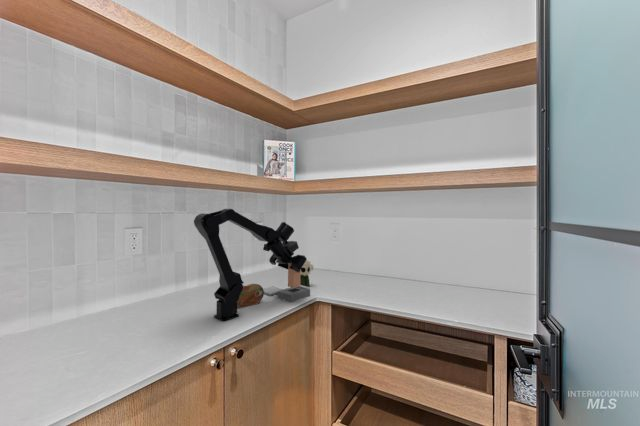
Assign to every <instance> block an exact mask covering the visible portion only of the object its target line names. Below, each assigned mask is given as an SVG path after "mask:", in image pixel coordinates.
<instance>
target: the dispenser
mask: <svg viewBox="0 0 640 426" xmlns="http://www.w3.org/2000/svg"><path fill="white" fill-rule="evenodd" d="M282 289H283V290H280V291H277V294H276V295H277V296H276V297H277V299H280V300H284V301H287V302H290V303H293V302H295V301H299V300H301V299H304V298H307V297H310V296H311V289H310V286H308V287H307V286H302V285H300V286H298V287H295V288H292V287H287V288H282Z"/></svg>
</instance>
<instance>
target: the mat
mask: <svg viewBox="0 0 640 426" xmlns="http://www.w3.org/2000/svg"><path fill="white" fill-rule="evenodd" d="M283 289H284V288H280V287H277V286H273V285H272V286H269V287H266V288H263V290H264V295H266V296H269V297H273V296H275V295H277V291H280V290H283Z"/></svg>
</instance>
